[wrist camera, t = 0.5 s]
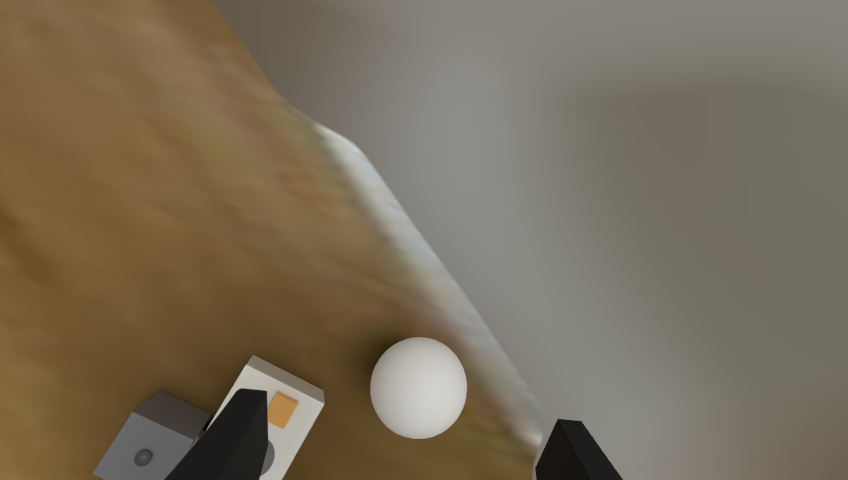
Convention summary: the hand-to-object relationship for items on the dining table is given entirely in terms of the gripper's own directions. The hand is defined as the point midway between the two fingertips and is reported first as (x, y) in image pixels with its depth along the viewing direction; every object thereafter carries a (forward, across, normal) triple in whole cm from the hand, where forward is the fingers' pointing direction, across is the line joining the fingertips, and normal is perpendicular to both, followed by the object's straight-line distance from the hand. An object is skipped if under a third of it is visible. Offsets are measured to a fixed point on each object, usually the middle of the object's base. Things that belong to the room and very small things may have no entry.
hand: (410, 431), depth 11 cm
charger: (+14, +15, +20) cm, 29 cm away
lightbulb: (+19, -1, +17) cm, 26 cm away
